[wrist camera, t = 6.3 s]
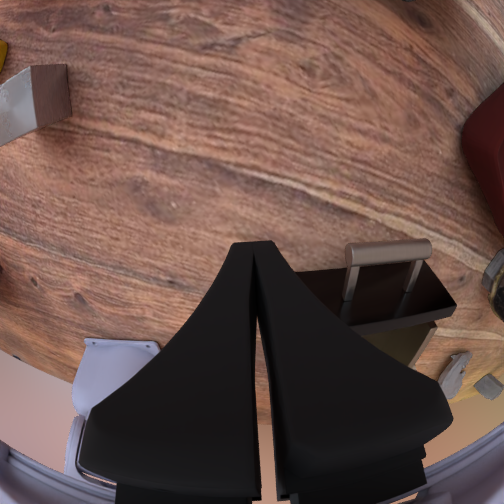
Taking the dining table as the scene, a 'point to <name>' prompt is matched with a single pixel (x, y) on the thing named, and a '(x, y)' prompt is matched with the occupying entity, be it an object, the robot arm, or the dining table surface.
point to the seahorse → (454, 374)
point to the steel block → (33, 101)
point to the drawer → (386, 295)
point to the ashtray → (488, 151)
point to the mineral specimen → (489, 387)
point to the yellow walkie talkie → (2, 53)
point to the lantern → (495, 284)
